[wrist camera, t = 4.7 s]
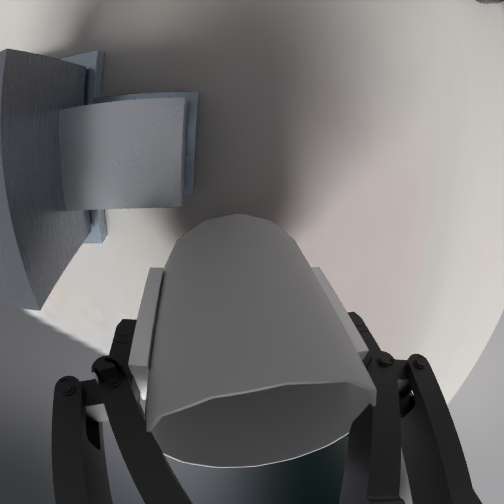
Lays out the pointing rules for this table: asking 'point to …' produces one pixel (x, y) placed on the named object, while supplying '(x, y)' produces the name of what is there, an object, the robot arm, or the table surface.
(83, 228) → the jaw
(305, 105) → the table surface
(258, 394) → the cup
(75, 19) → the table surface
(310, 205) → the table surface
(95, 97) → the vise base
